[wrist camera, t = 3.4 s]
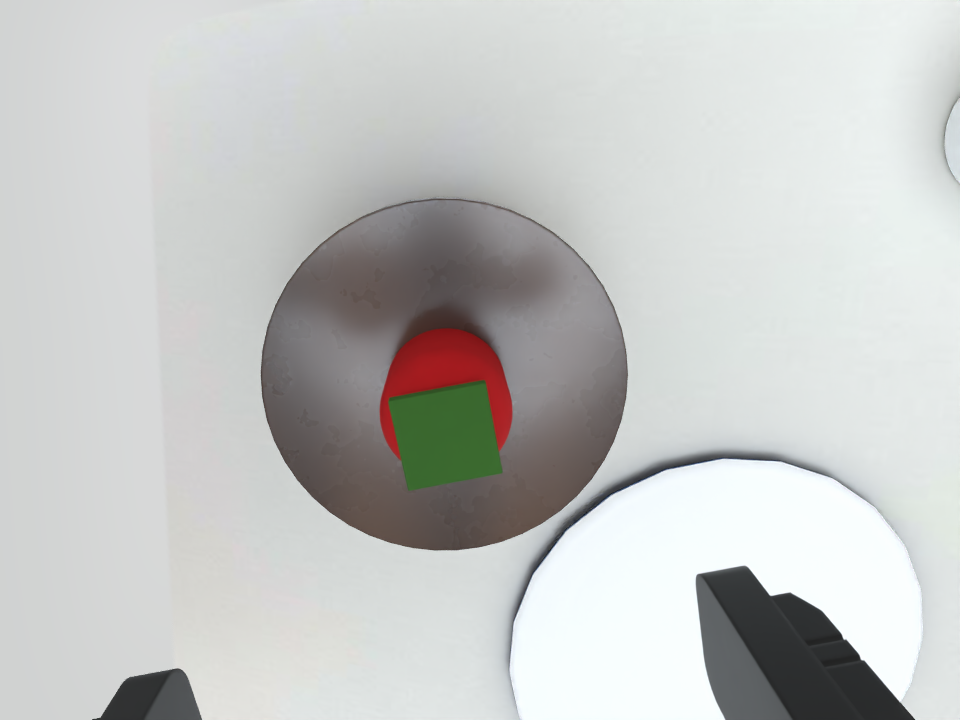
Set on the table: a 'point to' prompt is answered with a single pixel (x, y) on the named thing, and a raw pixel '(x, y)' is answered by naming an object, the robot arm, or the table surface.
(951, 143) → the cup
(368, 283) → the stand
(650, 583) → the plate
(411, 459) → the strawberry
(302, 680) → the table surface
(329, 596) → the table surface
